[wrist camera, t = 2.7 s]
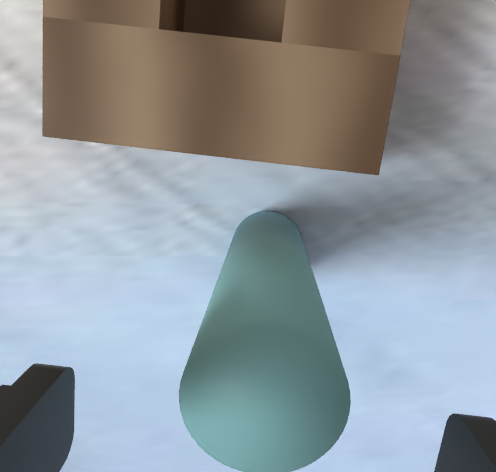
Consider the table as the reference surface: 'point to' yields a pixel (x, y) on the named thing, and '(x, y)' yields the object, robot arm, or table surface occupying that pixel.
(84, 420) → the table surface
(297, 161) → the bore block
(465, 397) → the table surface
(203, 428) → the pin
